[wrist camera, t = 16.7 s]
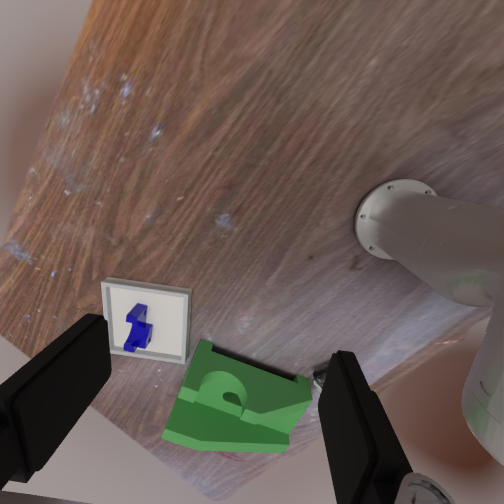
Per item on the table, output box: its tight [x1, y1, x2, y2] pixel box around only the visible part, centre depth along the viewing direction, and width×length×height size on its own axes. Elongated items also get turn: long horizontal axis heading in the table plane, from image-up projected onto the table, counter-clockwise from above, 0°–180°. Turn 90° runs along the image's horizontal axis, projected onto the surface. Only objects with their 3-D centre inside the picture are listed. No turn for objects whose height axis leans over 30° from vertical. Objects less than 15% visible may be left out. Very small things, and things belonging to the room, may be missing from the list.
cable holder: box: [123, 303, 153, 353], centre depth 47 cm, size 8×4×4 cm, turn 166°
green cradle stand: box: [161, 339, 312, 453], centre depth 49 cm, size 24×13×12 cm, turn 68°
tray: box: [101, 277, 192, 364], centre depth 49 cm, size 16×16×2 cm
